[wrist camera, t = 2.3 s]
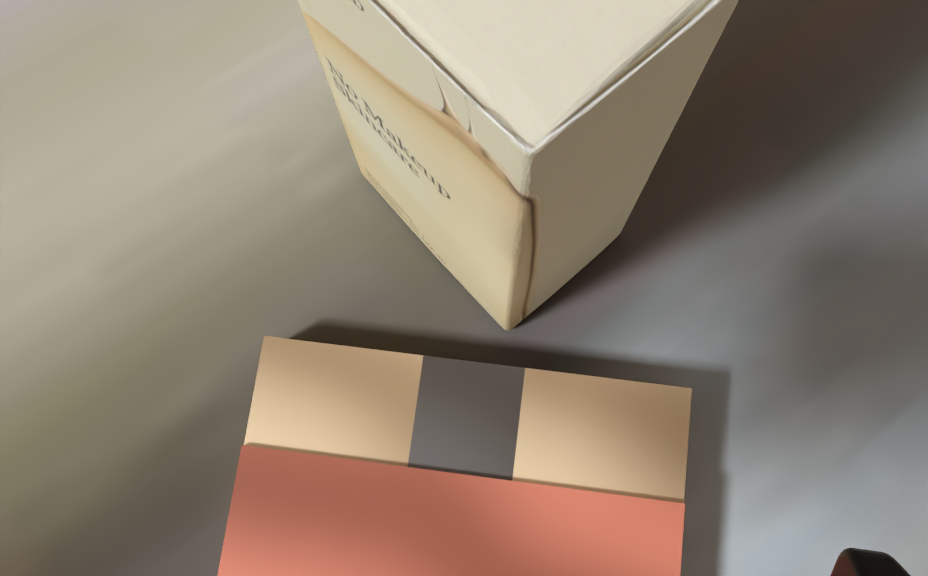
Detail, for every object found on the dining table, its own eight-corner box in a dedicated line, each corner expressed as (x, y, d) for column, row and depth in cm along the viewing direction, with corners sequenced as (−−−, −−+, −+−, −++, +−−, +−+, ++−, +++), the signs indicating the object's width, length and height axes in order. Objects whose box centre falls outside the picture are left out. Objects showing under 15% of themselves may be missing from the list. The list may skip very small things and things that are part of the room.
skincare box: (358, 174, 24) (214, -145, 12) (479, 73, 25) (453, -326, 13) (513, 342, 23) (521, 167, 11) (637, 231, 23) (772, -49, 11)
